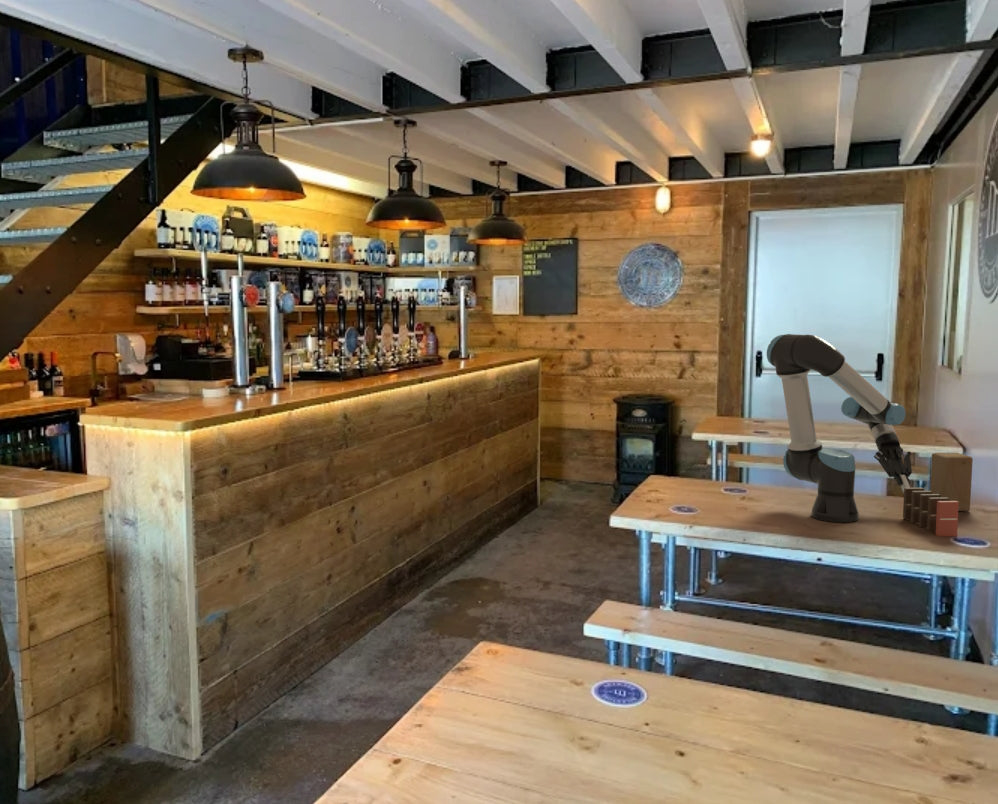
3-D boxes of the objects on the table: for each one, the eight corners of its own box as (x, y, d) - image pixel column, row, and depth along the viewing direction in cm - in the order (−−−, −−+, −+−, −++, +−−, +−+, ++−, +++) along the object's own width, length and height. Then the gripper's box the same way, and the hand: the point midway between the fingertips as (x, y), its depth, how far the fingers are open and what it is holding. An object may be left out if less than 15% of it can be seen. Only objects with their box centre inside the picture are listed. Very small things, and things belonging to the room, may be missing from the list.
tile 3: (918, 526, 262) (919, 494, 261) (936, 526, 262) (937, 493, 261) (921, 527, 260) (922, 495, 259) (939, 527, 260) (940, 495, 259)
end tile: (935, 534, 252) (937, 501, 251) (954, 534, 252) (955, 500, 251) (938, 536, 250) (940, 502, 249) (957, 536, 250) (958, 502, 249)
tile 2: (910, 522, 267) (911, 490, 265) (928, 522, 267) (929, 490, 266) (913, 524, 265) (914, 492, 264) (930, 523, 265) (932, 491, 264)
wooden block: (971, 512, 280) (974, 456, 278) (942, 512, 280) (945, 457, 278) (955, 505, 290) (958, 452, 288) (928, 505, 290) (930, 452, 288)
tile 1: (902, 519, 272) (904, 487, 271) (920, 518, 272) (921, 487, 271) (905, 520, 270) (906, 488, 269) (922, 520, 270) (924, 488, 269)
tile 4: (926, 530, 257) (928, 497, 256) (945, 530, 257) (946, 497, 256) (929, 531, 255) (931, 498, 254) (948, 531, 255) (949, 498, 254)
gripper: (899, 443, 292) (921, 498, 277) (864, 444, 292) (885, 498, 277) (907, 431, 286) (930, 486, 272) (871, 432, 286) (893, 486, 271)
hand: (907, 492), depth 274 cm, fingers closed
